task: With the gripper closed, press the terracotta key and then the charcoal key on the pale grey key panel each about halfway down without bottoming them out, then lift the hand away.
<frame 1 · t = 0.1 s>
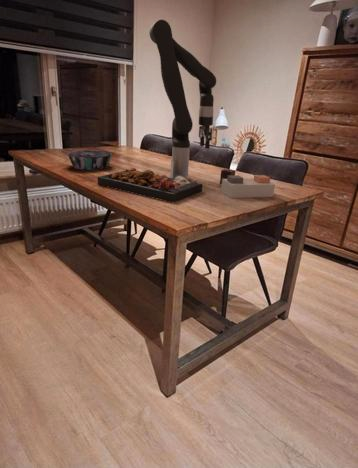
hand: (204, 147, 177), 17 cm above the table, tool pointing down, fingers open, 8 cm apart
terracotta key: (261, 180, 157), point 6 cm above the table, slide at 0.0 cm
charcoal key: (235, 181, 153), point 6 cm above the table, slide at 0.0 cm
key panel: (246, 193, 158), on the table
decorative bowl: (91, 167, 198), on the table
box: (226, 184, 175), on the table
food platter: (149, 189, 159), on the table
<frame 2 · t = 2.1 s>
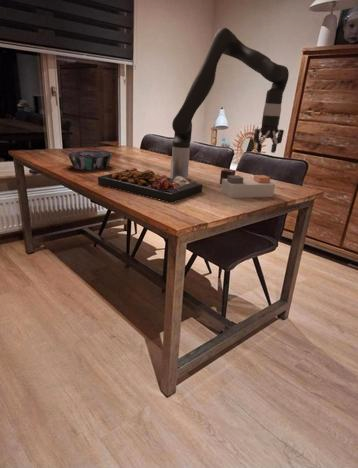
hand: (265, 152, 152), 20 cm above the table, tool pointing down, fingers open, 6 cm apart
nothing on the table moved.
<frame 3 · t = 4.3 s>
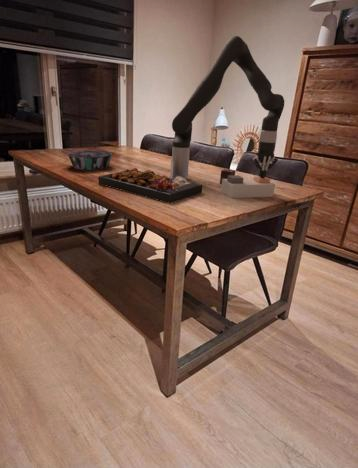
hand: (262, 177, 157), 8 cm above the table, tool pointing down, fingers closed
terracotta key: (261, 182, 157), point 6 cm above the table, slide at 0.7 cm, touching gripper
everything else where it was.
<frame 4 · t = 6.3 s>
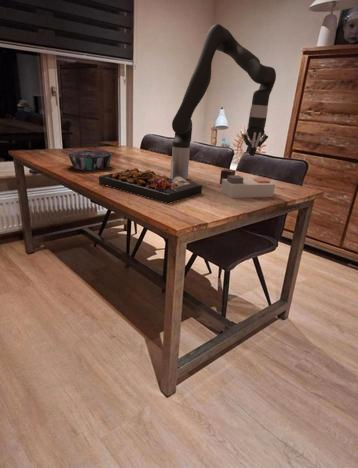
hand: (251, 155, 151), 18 cm above the table, tool pointing down, fingers closed
terracotta key: (261, 183, 158), point 5 cm above the table, slide at 1.5 cm
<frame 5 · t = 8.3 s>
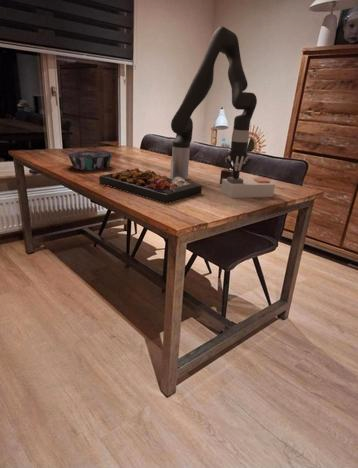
hand: (235, 178, 153), 8 cm above the table, tool pointing down, fingers closed
charcoal key: (234, 182, 154), point 6 cm above the table, slide at 0.8 cm, touching gripper
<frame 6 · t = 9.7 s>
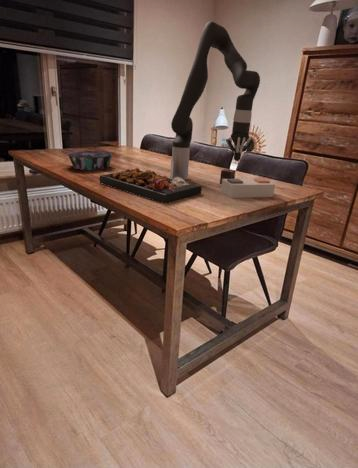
hand: (236, 160, 150), 16 cm above the table, tool pointing down, fingers closed
charcoal key: (234, 184, 154), point 5 cm above the table, slide at 1.6 cm
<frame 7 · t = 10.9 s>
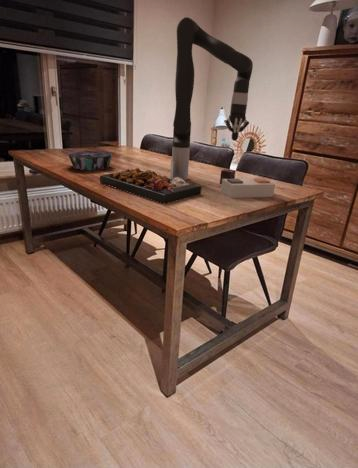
hand: (234, 140, 163), 23 cm above the table, tool pointing down, fingers closed
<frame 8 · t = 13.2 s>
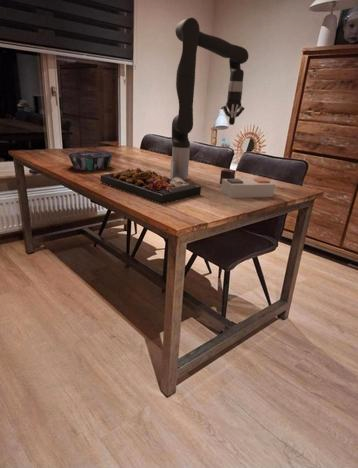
hand: (231, 124, 181), 29 cm above the table, tool pointing down, fingers closed
at the end: terracotta key slide at 1.5 cm; charcoal key slide at 1.6 cm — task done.
